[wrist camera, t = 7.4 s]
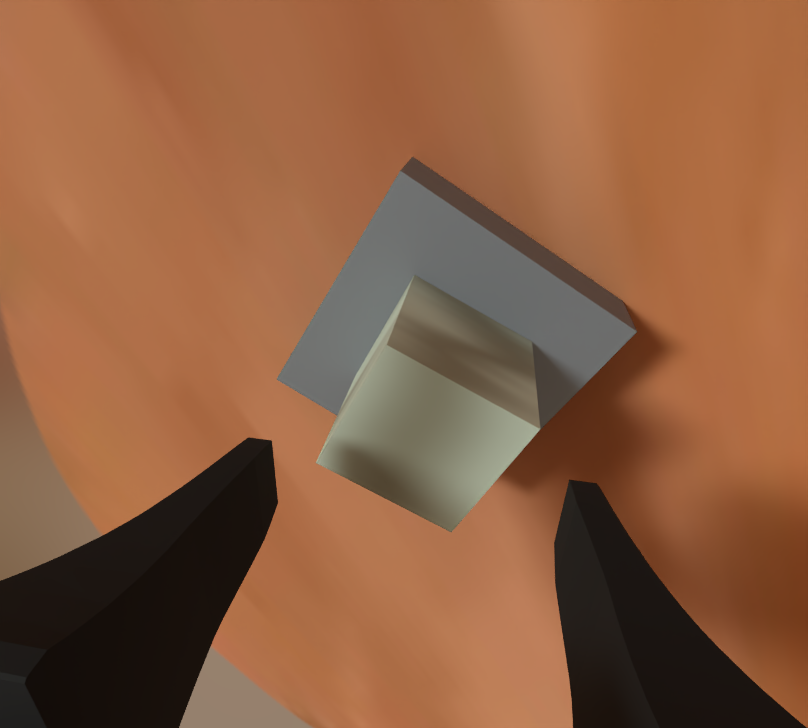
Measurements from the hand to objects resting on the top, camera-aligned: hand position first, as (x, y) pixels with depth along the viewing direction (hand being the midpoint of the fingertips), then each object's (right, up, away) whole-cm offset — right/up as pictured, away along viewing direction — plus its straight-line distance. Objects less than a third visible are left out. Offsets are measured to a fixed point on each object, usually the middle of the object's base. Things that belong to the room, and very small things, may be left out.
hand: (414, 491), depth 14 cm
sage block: (+1, +3, +6) cm, 7 cm away
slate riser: (+2, +5, +9) cm, 10 cm away
